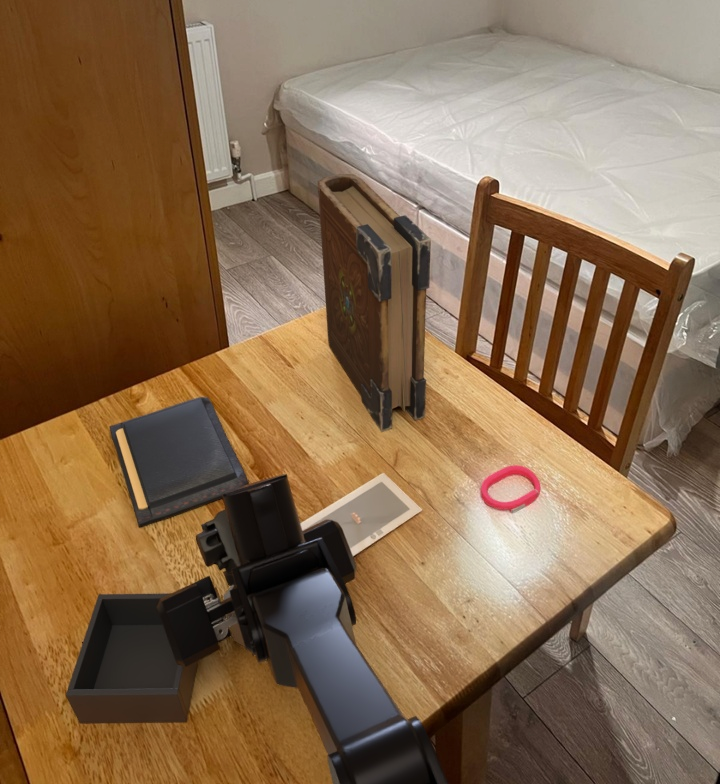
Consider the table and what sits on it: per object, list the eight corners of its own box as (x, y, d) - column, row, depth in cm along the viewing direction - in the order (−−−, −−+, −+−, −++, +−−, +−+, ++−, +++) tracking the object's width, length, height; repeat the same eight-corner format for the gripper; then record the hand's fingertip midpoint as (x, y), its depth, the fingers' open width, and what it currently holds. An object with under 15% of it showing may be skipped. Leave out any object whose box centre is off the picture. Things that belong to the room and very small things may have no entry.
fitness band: (500, 521, 91) (501, 513, 90) (471, 489, 95) (472, 482, 94) (549, 494, 94) (550, 486, 94) (519, 465, 99) (520, 457, 98)
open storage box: (186, 722, 72) (177, 694, 69) (79, 723, 72) (65, 695, 69) (205, 621, 81) (198, 592, 78) (109, 623, 81) (98, 594, 78)
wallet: (249, 479, 95) (131, 520, 90) (250, 489, 96) (134, 530, 91) (209, 387, 110) (106, 418, 105) (211, 396, 111) (109, 427, 106)
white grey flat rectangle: (288, 536, 90) (287, 525, 89) (383, 478, 97) (383, 467, 96) (325, 580, 85) (324, 569, 84) (422, 515, 92) (422, 504, 91)
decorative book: (424, 417, 106) (431, 239, 89) (380, 432, 104) (378, 252, 87) (360, 329, 124) (355, 166, 107) (321, 340, 122) (309, 176, 105)
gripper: (338, 469, 68) (295, 472, 82) (141, 557, 61) (132, 544, 75) (383, 583, 67) (331, 567, 81) (188, 688, 60) (169, 650, 74)
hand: (244, 579), depth 78 cm, fingers open, 6 cm apart
